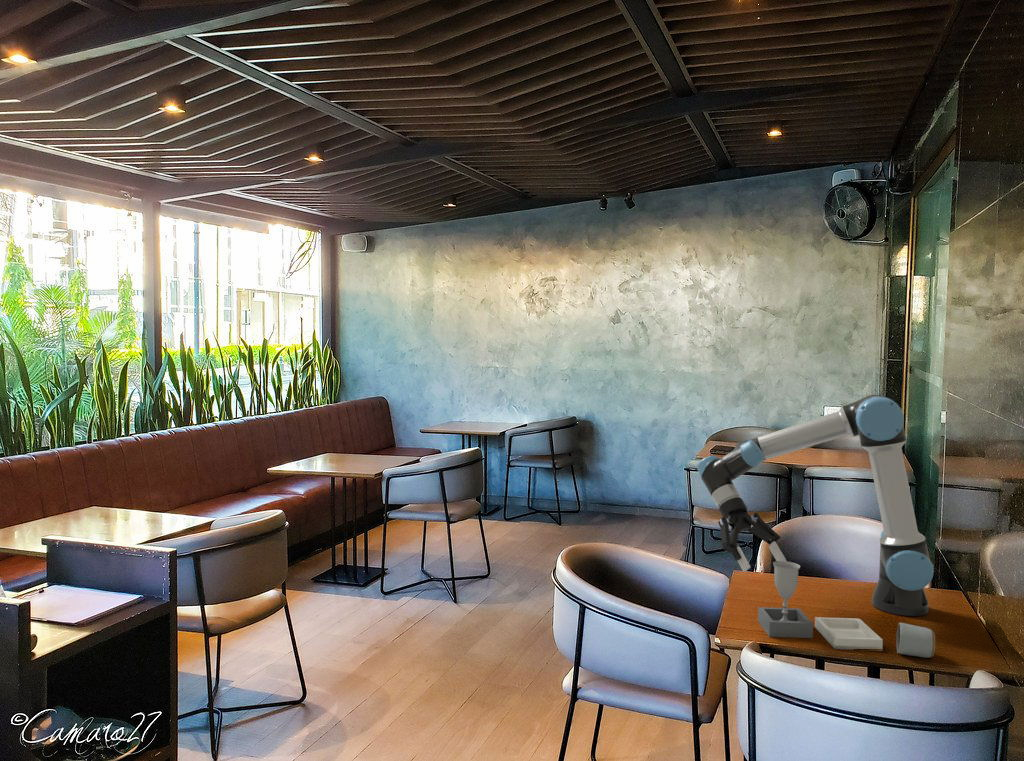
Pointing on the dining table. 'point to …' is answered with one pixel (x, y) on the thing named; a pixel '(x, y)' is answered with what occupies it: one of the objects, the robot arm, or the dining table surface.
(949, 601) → the dining table surface
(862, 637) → the off-white tray
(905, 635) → the ceramic mug
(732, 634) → the dining table surface
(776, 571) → the chalice
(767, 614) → the charcoal collar
